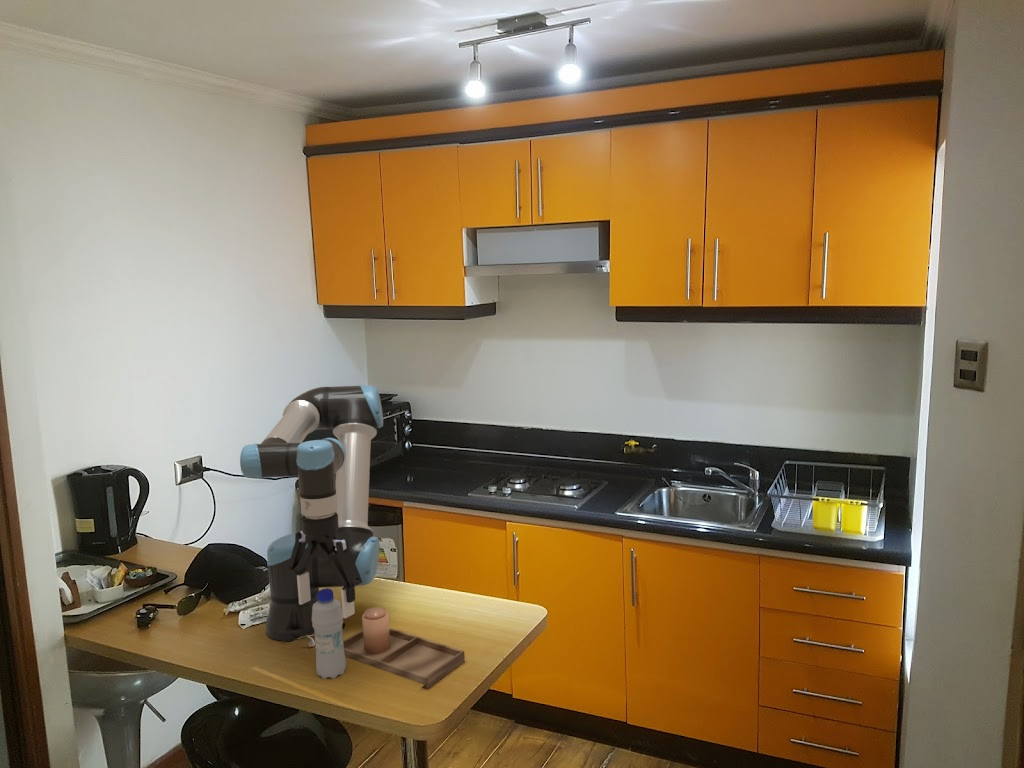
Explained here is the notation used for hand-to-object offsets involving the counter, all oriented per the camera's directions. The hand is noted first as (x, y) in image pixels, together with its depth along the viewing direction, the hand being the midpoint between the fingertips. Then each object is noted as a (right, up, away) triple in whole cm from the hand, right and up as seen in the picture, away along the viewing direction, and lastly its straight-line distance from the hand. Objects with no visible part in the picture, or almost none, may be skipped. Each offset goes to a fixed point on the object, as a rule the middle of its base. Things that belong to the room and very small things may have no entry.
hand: (326, 608), depth 164 cm
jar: (+9, -13, +13) cm, 20 cm away
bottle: (0, -16, +3) cm, 16 cm away
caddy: (+14, -14, +9) cm, 22 cm away
